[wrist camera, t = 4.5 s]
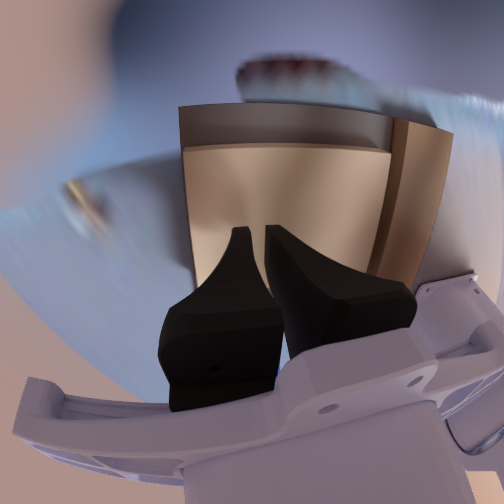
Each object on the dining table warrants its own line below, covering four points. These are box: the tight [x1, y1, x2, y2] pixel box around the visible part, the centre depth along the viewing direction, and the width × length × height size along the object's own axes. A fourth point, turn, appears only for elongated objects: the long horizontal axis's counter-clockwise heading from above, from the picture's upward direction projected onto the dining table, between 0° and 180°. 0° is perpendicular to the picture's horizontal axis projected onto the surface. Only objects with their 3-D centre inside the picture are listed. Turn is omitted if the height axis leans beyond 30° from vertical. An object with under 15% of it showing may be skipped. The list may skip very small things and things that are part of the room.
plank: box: [183, 143, 391, 288], centre depth 14 cm, size 10×8×1 cm
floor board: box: [179, 103, 454, 295], centre depth 15 cm, size 16×12×2 cm
